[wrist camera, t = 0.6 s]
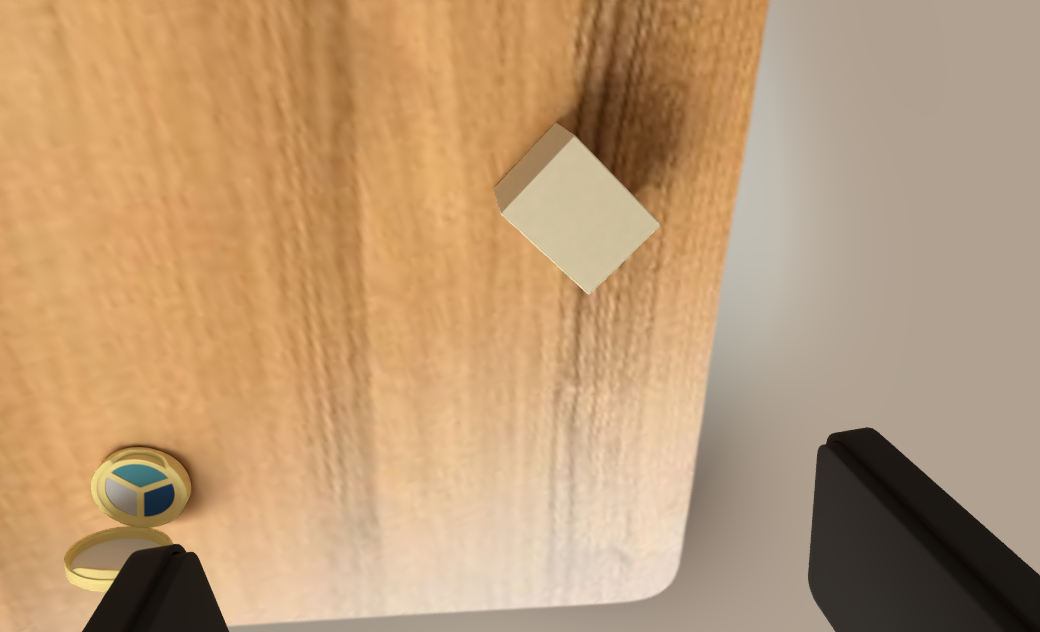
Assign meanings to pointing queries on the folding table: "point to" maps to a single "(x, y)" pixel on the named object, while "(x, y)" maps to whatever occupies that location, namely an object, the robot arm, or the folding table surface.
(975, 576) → the robot arm
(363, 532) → the folding table surface
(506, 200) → the beige block
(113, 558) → the eyeshadow
